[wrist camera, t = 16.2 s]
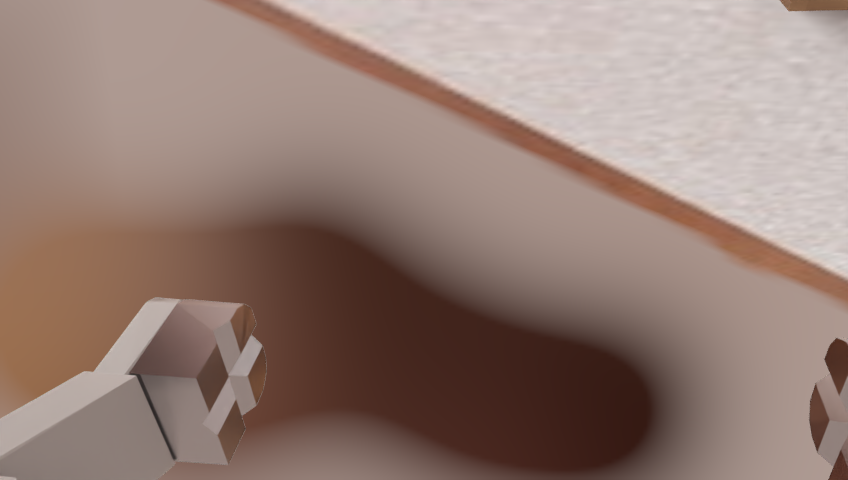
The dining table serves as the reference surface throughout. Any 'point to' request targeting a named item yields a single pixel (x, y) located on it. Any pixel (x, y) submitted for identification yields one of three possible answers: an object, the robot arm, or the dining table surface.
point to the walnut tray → (815, 5)
